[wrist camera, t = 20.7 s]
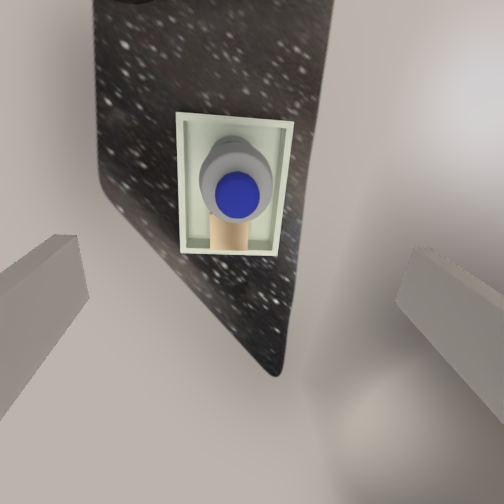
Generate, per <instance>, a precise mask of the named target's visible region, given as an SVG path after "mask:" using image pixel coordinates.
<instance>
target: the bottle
mask: <svg viewBox="0 0 504 504" xmlns="http://www.w3.org/2000/svg"><path fill="white" fill-rule="evenodd" d="M199 187H200V191H201V193H202V197H203V200H204V202H205V204H206V206H207V208H208V209H209V210H210V211H211V212H212V213H213V214H214V215H215V216H216V217H218V218H219V219H221V220H223V221H227V222H231V223H243V222H248V221H250V220H252V219H255V218H256V217H258V216H259V215H260V214H261V213H262V212H263V211H264V210H265V209H266V207H267V206H268V204H269V202H270V200H271V197H272V192H273V177H272V171H271V168H270V165H269V163H268V161H267V160H266V158H265V157H264V156H263V155H262V153H261V152H259V151H258V150H257V149H255V148H254V147H253V146H252V145H251V144H250V143H249V142H248V141H247V140H245V139H244V138H242V137H238V136H226V137H223V138H221V139H220V140H218V141H217V142H216V143H215V144H214V145H213V146H212V148H211V150H210V152H209V154H208V156H207V157H206V158H205V160H204V161H203V163H202V166H201V168H200V173H199Z"/></svg>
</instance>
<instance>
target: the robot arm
mask: <svg viewBox="0 0 504 504" xmlns="http://www.w3.org/2000/svg"><path fill="white" fill-rule="evenodd" d="M116 1H119V2H124V3H144V2H149V1H152V0H116ZM88 299H89V294H88V289H87V284H86V279H85V274H84V269H83V264H82V259H81V254H80V249H79V244H78V239H77V235H57V234H55V235H53V236H51V237H50V238H49V239H47V240H46V241H44V242H43V243H42V244H40V245H39V246H38V247H36V248H35V249H33V250H32V251H31V252H29V253H28V254H27V255H25V256H24V257H22V258H21V259H19V260H18V261H17V262H15V263H14V264H12V265H11V266H10V267H8V268H7V269H5V270H4V271H3V272H1V273H0V421H1V419H2V418H3V416H4V415H5V414H6V412H7V411H8V410H9V408H10V407H11V405H12V404H13V403H14V401H15V400H16V399H17V397H18V395H19V394H20V393H21V392H22V390H23V389H24V388H25V386H26V385H27V383H28V382H29V381H30V379H31V378H32V376H33V375H34V374H35V372H36V371H37V370H38V368H39V367H40V366H41V364H42V363H43V361H44V360H45V359H46V357H47V356H48V355H49V353H50V352H51V350H52V349H53V347H54V346H55V345H56V344H57V342H58V341H59V339H60V338H61V336H62V335H63V334H64V333H65V331H66V330H67V328H68V327H69V326H70V324H71V323H72V322H73V320H74V319H75V317H76V316H77V314H78V313H79V312H80V311H81V309H82V308H83V306H84V305H85V304H86V302H87V301H88ZM395 303H396V304H397V306H398V307H399V308H400V309H401V310H402V311H403V312H404V313H405V314H406V316H407V317H408V318H409V319H410V320H411V321H412V322H413V323H414V325H415V326H416V327H417V328H418V329H419V330H420V331H421V332H422V334H423V335H424V336H425V337H426V338H427V339H428V340H429V341H430V343H431V344H432V345H433V346H434V347H435V348H436V349H437V350H438V352H439V353H440V354H441V355H442V356H443V357H444V358H445V359H446V360H447V362H448V363H449V364H450V365H451V366H452V367H453V368H454V369H455V371H456V372H457V373H458V374H459V375H460V376H461V377H462V378H463V380H464V381H465V382H466V383H467V384H468V385H469V386H470V387H471V388H472V390H473V391H474V392H475V393H476V394H477V395H478V396H479V397H480V399H482V401H483V402H484V403H485V404H486V405H487V406H488V407H489V409H490V410H491V411H492V412H493V413H494V414H495V415H496V416H497V418H498V419H499V420H500V421H501V422H502V423H503V424H504V296H503V295H502V294H500V293H499V292H497V291H496V290H494V289H493V288H491V287H490V286H488V285H487V284H485V283H483V282H482V281H480V280H479V279H478V278H476V277H475V276H473V275H471V274H469V273H468V272H467V271H465V270H464V269H462V268H461V267H459V266H458V265H456V264H455V263H453V262H452V261H450V260H449V259H447V258H446V257H444V256H442V255H441V254H440V253H438V252H436V251H435V250H433V249H432V248H420V247H414V248H413V251H412V254H411V257H410V260H409V263H408V266H407V268H406V271H405V274H404V277H403V280H402V283H401V286H400V289H399V291H398V294H397V298H396V300H395Z"/></svg>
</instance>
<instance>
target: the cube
mask: <svg viewBox="0 0 504 504" xmlns="http://www.w3.org/2000/svg"><path fill="white" fill-rule="evenodd" d="M248 233H249V221H248V222H243V223H231V222H227V221H223V220H221V219H219V218H218V217H216V216H215V215H214V214H213V213H212V212H211V211H210V250H235V251H247V249H248Z"/></svg>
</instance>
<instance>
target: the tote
mask: <svg viewBox="0 0 504 504" xmlns="http://www.w3.org/2000/svg"><path fill="white" fill-rule="evenodd" d="M293 127H294V122H293V121H284V120H272V119H260V118H248V117H236V116H224V115H212V114H200V113H187V112H176V136H177V165H178V195H179V225H180V253H197V254H230V255H263V256H277V254H278V246H279V238H280V230H281V222H282V215H283V207H284V199H285V191H286V183H287V175H288V167H289V159H290V151H291V143H292V135H293ZM226 136H238V137H242V138H244V139H245V140H247V141H248V142H249V143H250V144H251V145H252V146H253V147H254V148H255V149H257V150H258V151H259V152H261V153H262V155H263V156H264V157H265V158H266V160H267V161H268V163H269V165H270V168H271V171H272V177H273V192H272V197H271V200H270V202H269V204H268V206H267V207H266V209H265V210H264V211H263V212H262V213H261V214H260V215H259V216H258V217H256V218H255V219H252V220H250V221H249V233H248V249H247V251H235V250H210V210H209V209H208V208H207V206H206V204H205V202H204V200H203V197H202V193H201V191H200V187H199V173H200V168H201V166H202V163H203V161H204V160H205V158H206V157H207V156H208V154H209V152H210V150H211V148H212V146H213V145H214V144H215V143H216V142H217V141H218V140H220V139H221V138H223V137H226Z"/></svg>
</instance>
